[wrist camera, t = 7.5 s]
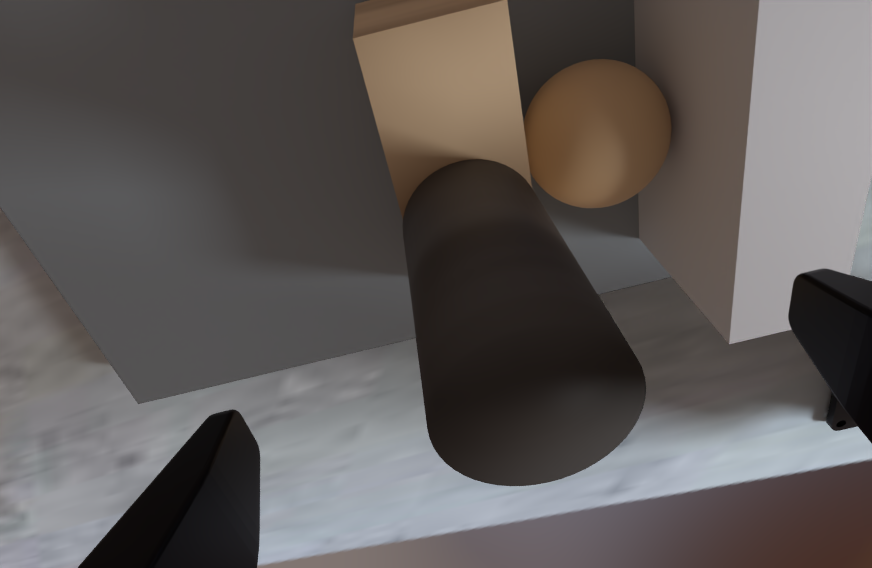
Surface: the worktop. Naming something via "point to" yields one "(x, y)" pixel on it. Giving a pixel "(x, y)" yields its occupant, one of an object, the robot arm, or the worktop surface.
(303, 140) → the cracker base
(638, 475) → the worktop surface
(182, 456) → the robot arm
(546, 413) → the lever handle
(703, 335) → the worktop surface
